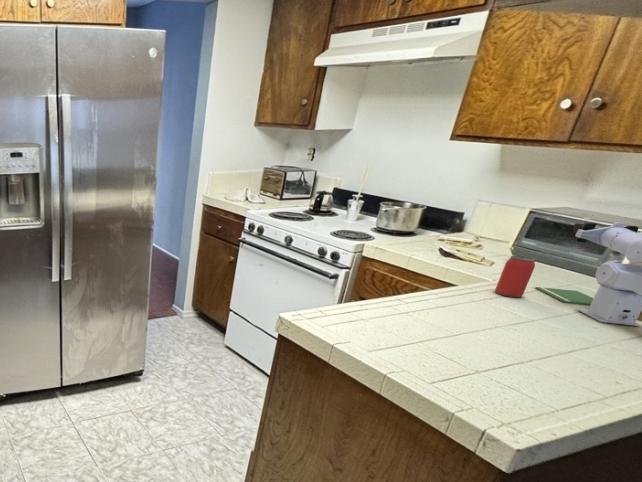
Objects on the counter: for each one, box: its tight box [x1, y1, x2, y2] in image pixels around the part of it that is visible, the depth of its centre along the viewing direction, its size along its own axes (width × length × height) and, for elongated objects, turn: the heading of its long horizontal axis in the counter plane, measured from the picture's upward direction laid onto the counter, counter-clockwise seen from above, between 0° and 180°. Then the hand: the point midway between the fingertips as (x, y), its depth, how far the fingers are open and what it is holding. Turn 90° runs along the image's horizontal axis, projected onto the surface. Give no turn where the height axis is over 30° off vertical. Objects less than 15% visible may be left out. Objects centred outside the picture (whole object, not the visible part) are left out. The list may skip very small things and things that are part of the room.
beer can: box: [494, 255, 536, 298], centre depth 146 cm, size 7×7×12 cm
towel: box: [535, 286, 594, 306], centre depth 147 cm, size 14×11×1 cm
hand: (591, 227), depth 140 cm, fingers open, 7 cm apart
